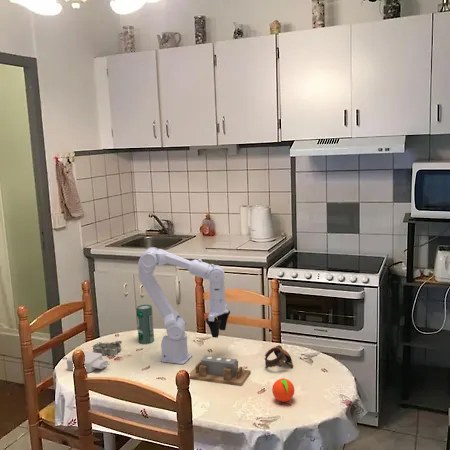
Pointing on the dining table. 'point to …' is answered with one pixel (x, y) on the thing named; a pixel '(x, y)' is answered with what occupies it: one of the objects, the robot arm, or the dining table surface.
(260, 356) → the dining table surface
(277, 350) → the brown open ring
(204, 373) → the rack
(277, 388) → the clementine
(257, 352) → the dining table surface
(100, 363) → the charger
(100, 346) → the egg carton
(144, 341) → the can
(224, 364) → the power strip
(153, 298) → the robot arm
